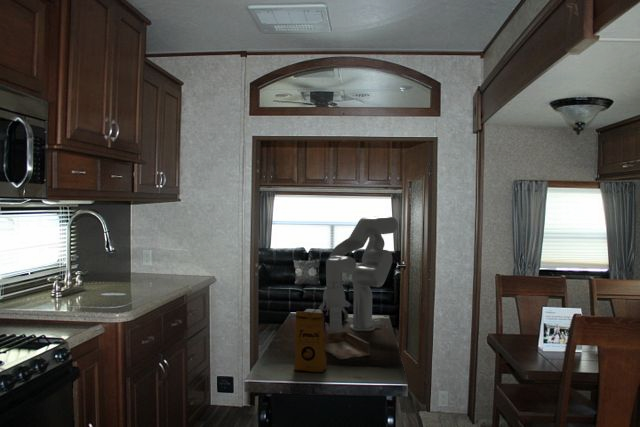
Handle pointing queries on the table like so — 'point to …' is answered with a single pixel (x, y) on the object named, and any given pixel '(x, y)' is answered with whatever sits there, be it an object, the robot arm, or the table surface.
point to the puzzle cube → (319, 312)
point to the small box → (335, 318)
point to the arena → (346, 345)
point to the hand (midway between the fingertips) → (334, 321)
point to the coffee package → (310, 342)
